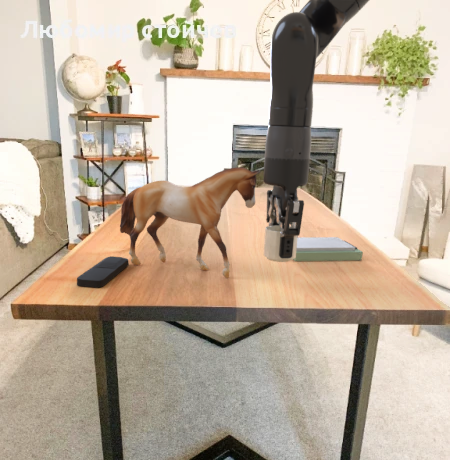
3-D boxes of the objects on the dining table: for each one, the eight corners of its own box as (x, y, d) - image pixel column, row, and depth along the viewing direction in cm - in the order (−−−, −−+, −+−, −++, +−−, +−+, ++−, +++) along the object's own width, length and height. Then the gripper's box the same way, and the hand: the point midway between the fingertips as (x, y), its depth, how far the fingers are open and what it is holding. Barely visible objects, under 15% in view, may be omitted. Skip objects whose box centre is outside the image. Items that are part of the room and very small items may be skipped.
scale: (340, 247, 113) (341, 236, 112) (361, 260, 102) (363, 248, 101) (279, 247, 110) (280, 236, 109) (295, 261, 99) (296, 249, 98)
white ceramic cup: (289, 253, 84) (292, 225, 82) (300, 262, 78) (302, 232, 76) (260, 254, 83) (261, 225, 81) (268, 263, 77) (270, 232, 75)
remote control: (101, 290, 79) (130, 264, 92) (100, 281, 78) (129, 255, 91) (75, 288, 79) (107, 262, 93) (74, 279, 78) (107, 254, 92)
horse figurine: (256, 273, 90) (263, 168, 82) (243, 284, 83) (250, 171, 75) (124, 253, 100) (119, 158, 92) (103, 262, 93) (97, 159, 85)
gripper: (324, 158, 68) (313, 263, 74) (295, 153, 81) (287, 243, 87) (277, 158, 67) (270, 264, 73) (255, 152, 80) (250, 243, 86)
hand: (280, 252), depth 80 cm, fingers closed on white ceramic cup, 6 cm apart
